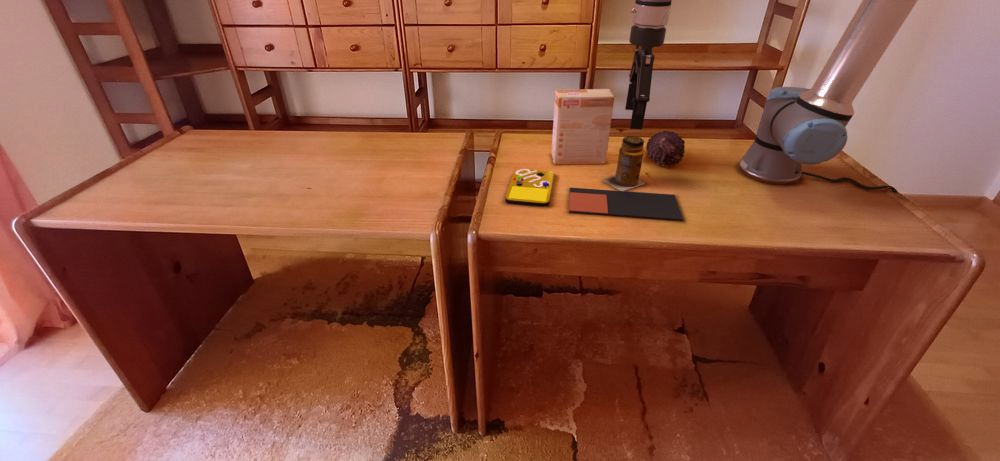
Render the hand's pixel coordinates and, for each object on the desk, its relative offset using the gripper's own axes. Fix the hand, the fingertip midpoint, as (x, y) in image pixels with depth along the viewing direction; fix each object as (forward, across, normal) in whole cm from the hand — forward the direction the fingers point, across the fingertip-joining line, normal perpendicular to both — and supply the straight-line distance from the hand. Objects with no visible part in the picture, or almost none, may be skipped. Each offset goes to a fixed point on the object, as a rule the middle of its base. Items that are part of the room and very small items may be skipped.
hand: (633, 118), depth 117 cm
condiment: (+18, 0, 0) cm, 18 cm away
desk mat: (+17, +12, -1) cm, 21 cm away
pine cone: (+18, -15, +12) cm, 26 cm away
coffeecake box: (+18, -13, -12) cm, 25 cm away
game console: (+18, +7, -24) cm, 30 cm away
